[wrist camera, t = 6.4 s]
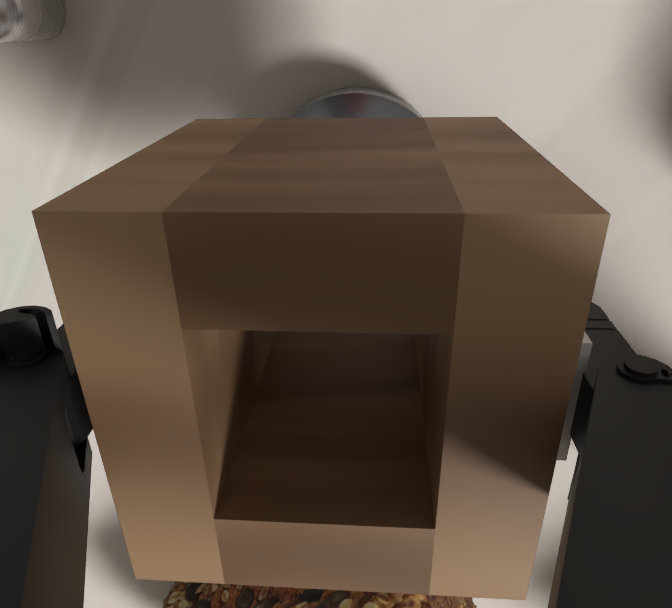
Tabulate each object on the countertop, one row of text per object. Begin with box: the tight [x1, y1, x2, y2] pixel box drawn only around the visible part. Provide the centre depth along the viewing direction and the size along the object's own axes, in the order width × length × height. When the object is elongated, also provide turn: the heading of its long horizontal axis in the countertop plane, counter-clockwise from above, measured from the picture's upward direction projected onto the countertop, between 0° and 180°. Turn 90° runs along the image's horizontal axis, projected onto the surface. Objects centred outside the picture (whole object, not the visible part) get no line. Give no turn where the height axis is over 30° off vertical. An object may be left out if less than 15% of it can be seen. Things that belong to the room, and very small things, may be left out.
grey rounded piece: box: [0, 0, 65, 43], centre depth 20 cm, size 2×2×4 cm
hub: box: [292, 87, 422, 118], centre depth 21 cm, size 8×8×7 cm
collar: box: [32, 117, 610, 600], centre depth 13 cm, size 8×8×8 cm
